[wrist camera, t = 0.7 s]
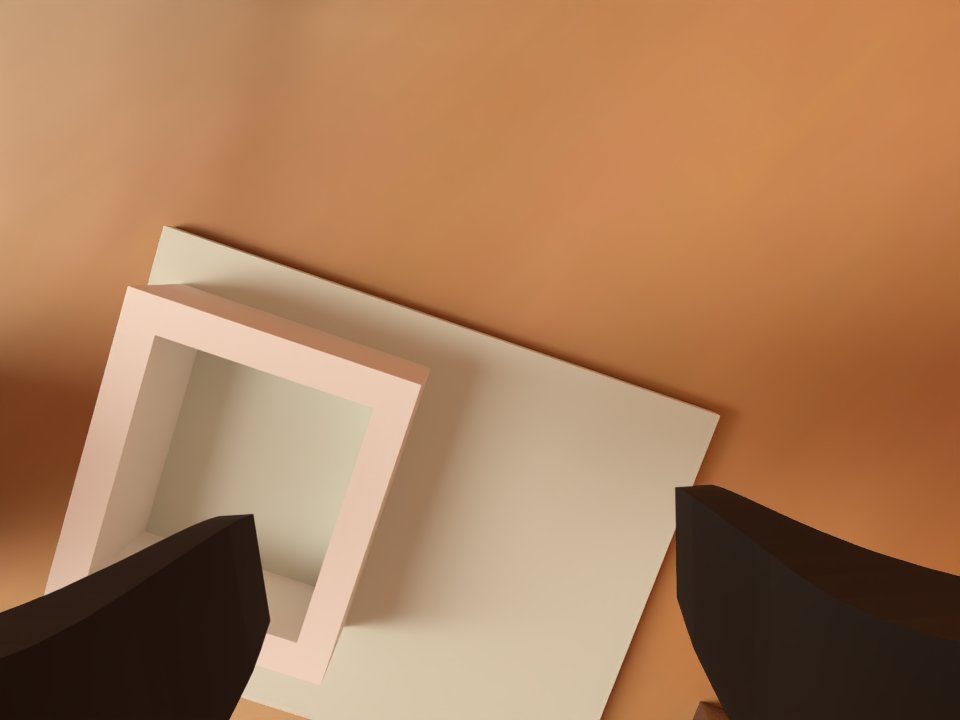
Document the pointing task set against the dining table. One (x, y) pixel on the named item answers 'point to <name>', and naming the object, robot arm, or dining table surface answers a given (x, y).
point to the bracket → (709, 712)
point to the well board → (384, 489)
